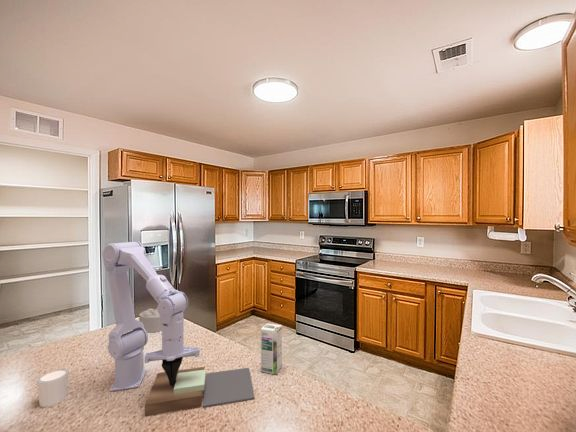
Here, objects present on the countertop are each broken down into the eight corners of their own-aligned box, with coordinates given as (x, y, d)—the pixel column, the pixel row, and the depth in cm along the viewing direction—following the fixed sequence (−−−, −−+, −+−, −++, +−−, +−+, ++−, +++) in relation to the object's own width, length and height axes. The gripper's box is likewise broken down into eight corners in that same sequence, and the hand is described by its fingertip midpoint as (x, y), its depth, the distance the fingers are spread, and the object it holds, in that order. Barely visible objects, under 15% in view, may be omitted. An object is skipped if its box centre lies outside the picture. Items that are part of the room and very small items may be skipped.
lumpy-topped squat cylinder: (157, 333, 121) (157, 314, 121) (132, 331, 124) (132, 312, 124) (172, 325, 131) (172, 307, 131) (149, 323, 134) (149, 305, 134)
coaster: (178, 378, 81) (178, 373, 82) (205, 374, 83) (205, 369, 83) (173, 394, 74) (173, 389, 74) (204, 389, 76) (204, 384, 76)
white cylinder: (52, 392, 80) (52, 368, 80) (74, 392, 80) (75, 368, 80) (29, 408, 73) (29, 382, 73) (54, 408, 73) (54, 382, 73)
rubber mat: (206, 375, 88) (206, 373, 88) (248, 369, 92) (248, 367, 92) (202, 407, 73) (202, 405, 73) (254, 399, 76) (254, 397, 76)
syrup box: (260, 372, 90) (260, 328, 90) (267, 363, 95) (267, 322, 96) (275, 375, 88) (275, 330, 88) (282, 366, 93) (282, 324, 94)
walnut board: (157, 382, 84) (157, 372, 84) (204, 376, 88) (204, 366, 88) (144, 416, 70) (144, 404, 70) (201, 406, 73) (201, 395, 73)
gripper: (141, 345, 72) (141, 396, 72) (198, 339, 76) (198, 388, 75) (148, 334, 79) (148, 381, 79) (200, 329, 82) (200, 374, 82)
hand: (172, 383), depth 77 cm, fingers closed
